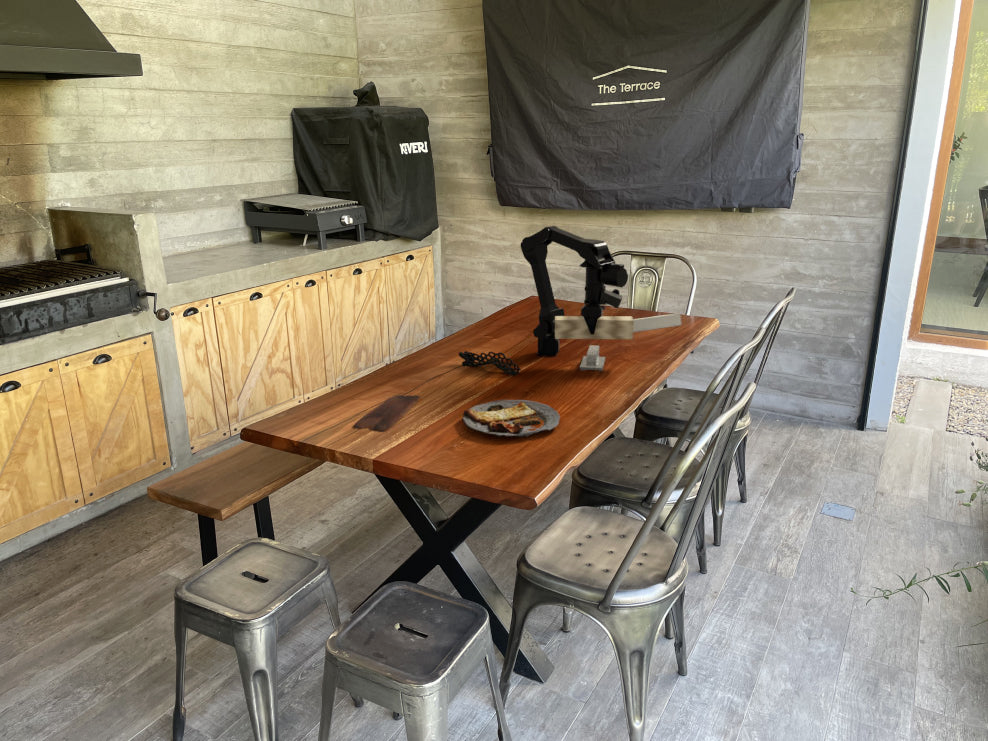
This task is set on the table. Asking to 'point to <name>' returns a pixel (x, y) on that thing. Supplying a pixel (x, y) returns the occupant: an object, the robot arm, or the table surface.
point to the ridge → (592, 359)
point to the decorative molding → (656, 322)
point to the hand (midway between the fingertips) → (593, 331)
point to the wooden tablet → (387, 413)
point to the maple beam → (604, 329)
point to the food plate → (510, 417)
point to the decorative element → (489, 361)
